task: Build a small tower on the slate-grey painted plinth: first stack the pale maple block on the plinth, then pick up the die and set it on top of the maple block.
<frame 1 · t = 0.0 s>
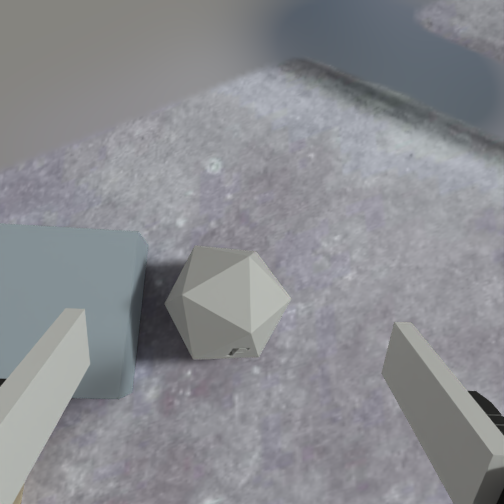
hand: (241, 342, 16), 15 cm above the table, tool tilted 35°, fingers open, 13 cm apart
die: (226, 307, 32), on the table
plinth: (65, 312, 30), on the table
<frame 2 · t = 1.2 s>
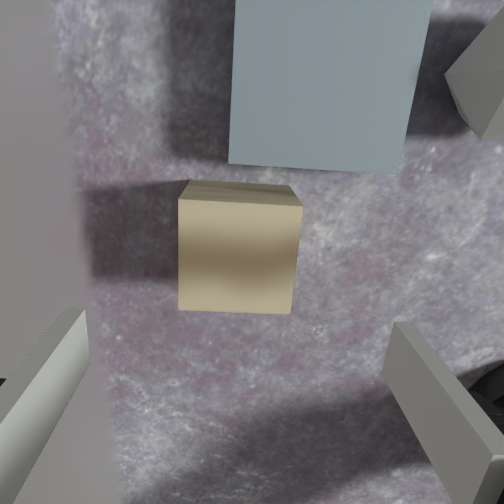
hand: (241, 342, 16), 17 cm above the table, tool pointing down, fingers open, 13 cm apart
maple block: (237, 229, 32), on the table
die: (483, 78, 28), on the table
plinth: (313, 79, 28), on the table
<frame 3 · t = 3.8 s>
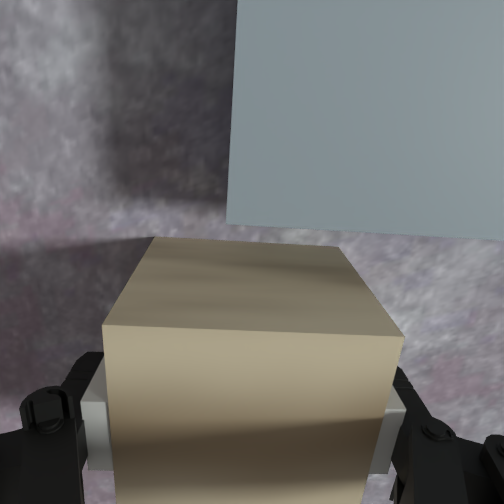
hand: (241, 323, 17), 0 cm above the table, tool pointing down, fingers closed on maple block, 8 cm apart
maple block: (241, 319, 18), on the table, touching gripper
plinth: (400, 44, 14), on the table
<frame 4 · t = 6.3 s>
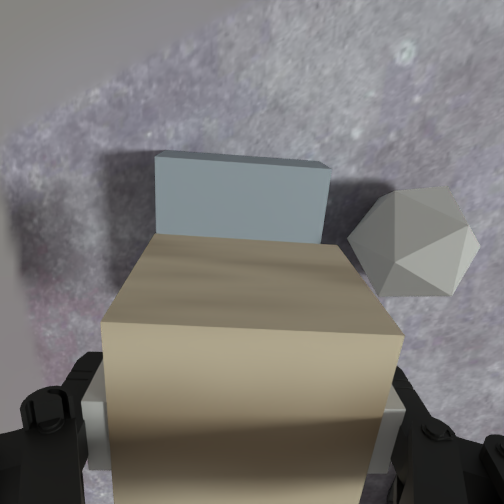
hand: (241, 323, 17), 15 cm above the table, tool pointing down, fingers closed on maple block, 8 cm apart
maple block: (241, 318, 18), point 14 cm above the table, touching gripper
die: (391, 226, 32), on the table
plinth: (238, 229, 31), on the table
when the fingers open (5 cm above the table, at t = 8.3 s): maple block stays where it is, resting on plinth.
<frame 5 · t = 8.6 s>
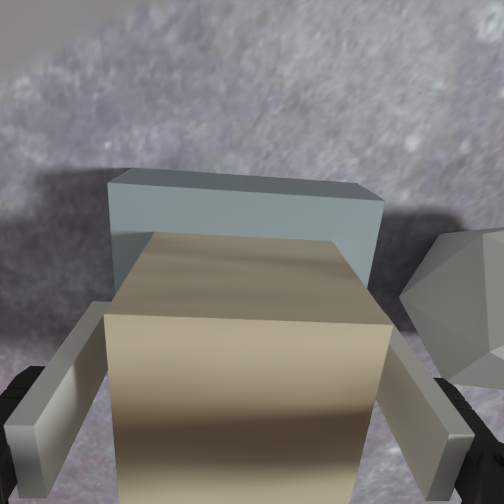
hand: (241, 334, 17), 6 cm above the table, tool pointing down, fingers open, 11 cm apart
maple block: (239, 313, 18), point 4 cm above the table, touching plinth
die: (453, 271, 23), on the table
plinth: (239, 277, 22), on the table
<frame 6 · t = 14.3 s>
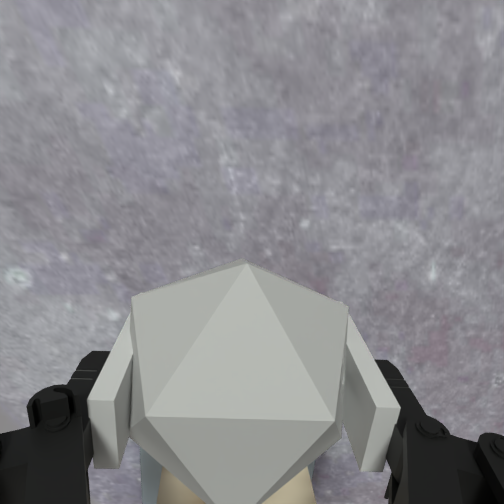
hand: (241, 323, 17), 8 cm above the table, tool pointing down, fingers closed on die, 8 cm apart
maple block: (230, 459, 25), point 4 cm above the table, touching plinth
die: (238, 313, 18), point 7 cm above the table, touching gripper
plinth: (229, 413, 29), on the table
when the fingers open (12 cm above the table, at t = 18.1 s): die stays where it is, resting on maple block.
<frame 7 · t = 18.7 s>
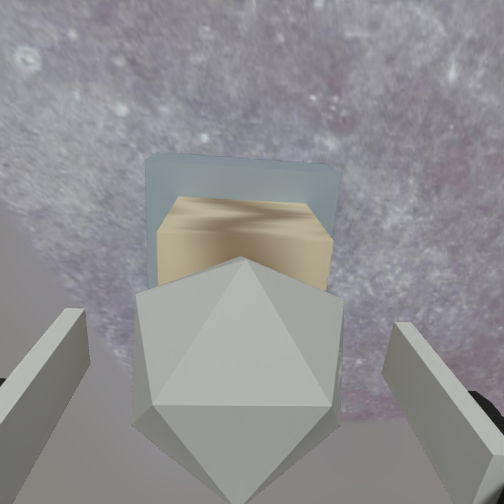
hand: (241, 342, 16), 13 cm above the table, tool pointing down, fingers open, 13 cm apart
maple block: (239, 259, 25), point 4 cm above the table, touching die, plinth
die: (238, 309, 18), point 11 cm above the table, touching maple block
plinth: (238, 238, 28), on the table
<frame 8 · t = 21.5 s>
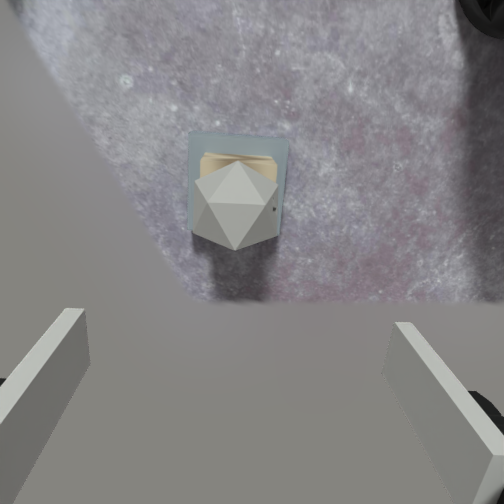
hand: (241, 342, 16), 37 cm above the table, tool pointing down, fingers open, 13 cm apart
maple block: (236, 187, 46), point 4 cm above the table, touching die, plinth
die: (235, 199, 40), point 11 cm above the table, touching maple block
plinth: (236, 181, 50), on the table
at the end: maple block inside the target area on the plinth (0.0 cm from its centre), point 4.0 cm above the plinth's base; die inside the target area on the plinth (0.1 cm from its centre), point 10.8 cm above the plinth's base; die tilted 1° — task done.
